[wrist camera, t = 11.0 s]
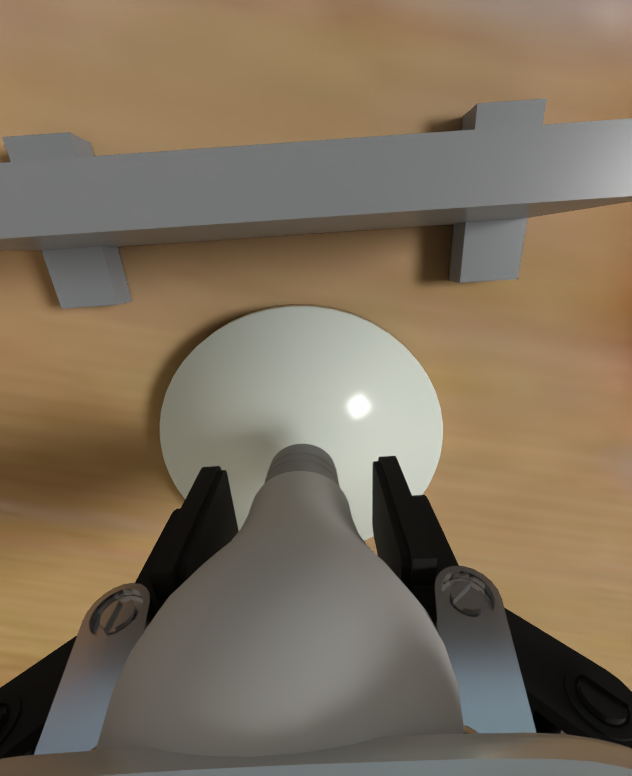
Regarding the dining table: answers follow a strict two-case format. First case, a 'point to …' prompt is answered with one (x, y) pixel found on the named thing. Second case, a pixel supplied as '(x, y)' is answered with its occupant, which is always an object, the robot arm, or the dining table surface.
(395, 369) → the white round dome
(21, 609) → the dining table surface
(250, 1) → the dining table surface
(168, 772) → the robot arm
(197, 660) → the lightbulb
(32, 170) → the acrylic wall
